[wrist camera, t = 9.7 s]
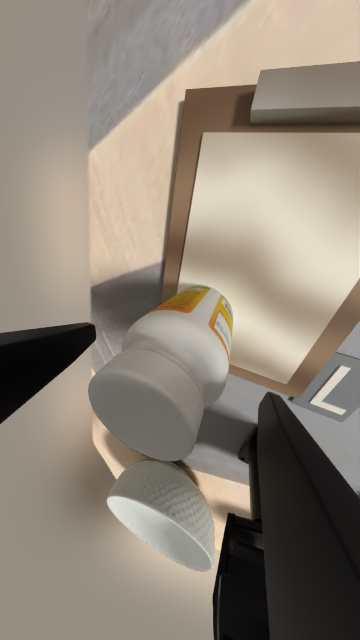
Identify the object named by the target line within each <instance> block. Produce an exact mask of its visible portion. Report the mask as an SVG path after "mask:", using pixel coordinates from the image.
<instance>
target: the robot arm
mask: <svg viewBox="0 0 360 640" xmlns="http://www.w3.org/2000/svg"><path fill="white" fill-rule="evenodd" d="M95 340H96V330H95V326H94V325H93V324H91V323H88V322H86V323H77V324H69V325H62V326H53V327H46V328H37V329H29V330H21V331H13V332H5V333H0V424H1V423H2V422H3V421H4V420H6V419H7V418H8V417H9V416H10V415H12V414H13V413H14V412H15V411H16V410H18V409H19V408H20V407H21V406H22V405H23V404H25V403H26V402H27V401H28V400H29V399H30V398H32V397H33V396H34V395H35V394H36V393H38V392H39V391H40V390H41V389H42V388H44V387H45V386H46V385H47V384H48V383H49V382H51V381H52V380H53V379H54V378H55V377H57V376H58V375H59V374H60V373H61V372H63V371H64V370H65V369H66V368H67V367H68V366H69V365H71V364H72V363H73V362H74V361H75V360H76V359H77V358H78V357H79V356H80V355H81V354H82V353H83V352H84V351H85V350H86V349H87V348H88V347H89V346H90V345H91V344H92V343H93V342H94V341H95ZM238 459H239V460H241V461H243V462H245V463H247V464H249V484H250V510H251V520H250V519H246V518H243V517H239V516H236V515H235V514H233V513H228V517H227V522H226V526H225V531H224V537H223V542H222V548H221V553H220V559H219V564H218V570H217V575H216V581H215V587H214V592H213V631H214V640H360V498H359V497H358V495H357V494H356V493H355V492H354V490H353V489H352V488H351V486H350V485H349V484H348V483H347V481H346V480H345V479H344V478H343V476H342V475H341V474H340V472H339V471H338V470H337V469H336V467H335V466H334V465H333V463H332V462H331V461H330V460H329V458H328V457H327V456H326V454H325V453H324V452H323V451H322V449H321V448H320V447H319V445H318V444H317V443H316V442H315V440H314V439H313V438H312V436H311V435H310V434H309V433H308V431H307V430H306V429H305V427H304V426H303V425H302V424H301V422H300V421H299V420H298V418H297V417H296V416H295V415H294V413H293V412H292V411H291V409H290V408H289V407H288V406H287V404H286V403H285V402H284V400H283V399H282V398H281V397H280V396H279V395H277V394H275V393H272V392H267V393H266V394H265V396H264V398H263V399H262V401H261V402H260V404H259V408H258V427H256V428H255V429H254V431H253V432H252V434H251V435H250V437H249V438H248V439H247V441H246V442H245V444H244V445H243V447H242V448H241V450H240V451H239V453H238Z"/></svg>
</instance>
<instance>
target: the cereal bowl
mask: <svg viewBox="0 0 360 640" xmlns="http://www.w3.org/2000/svg"><path fill="white" fill-rule="evenodd" d="M107 504H108V506H109V508H110V510H111V511H112V512H113V514H114V515H115V516H116V517H117V518H118V519H119V520H120V521H121V523H122V524H124V525H125V526H126V527H127V528H128V529H129V530H130V531H131V532H133V533H134V534H135V535H136V536H137V537H138V538H140V539H141V540H142V541H144V542H145V543H146V544H148V545H149V546H150V547H152V548H153V549H155V550H156V551H158V552H159V553H161V554H162V555H164V556H166V557H167V558H169V559H171V560H173V561H174V562H176V563H178V564H180V565H183V566H185V567H187V568H190V569H192V570H195V571H200V572H208V571H210V570H212V568H213V564H214V550H215V528H214V521H213V516H212V513H211V509H210V507H209V504H208V502H207V500H206V498H205V496H204V495H203V493H202V492H201V491H200V489H199V488H198V487H197V485H195V484H194V482H193V481H192V479H191V478H190V476H189V475H188V474H187V473H186V472H185V471H184V470H183V469H182V468H181V467H179V466H178V465H176V464H174V463H172V462H170V461H163V460H158V459H156V460H154V461H151V460H146V461H145V460H143V461H139V462H136V463H134V464H132V465H130V466H129V467H128V468H126V469H125V470H124V471H123V472H122V473H121V475H120V476H119V478H118V479H117V480H116V482H115V484H114V486H113V487H112V489H111V491H110V493H109V496H108V498H107Z"/></svg>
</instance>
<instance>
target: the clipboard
mask: <svg viewBox="0 0 360 640" xmlns="http://www.w3.org/2000/svg"><path fill="white" fill-rule="evenodd" d="M193 286H207V287H211V288H213V289H216V290H217V291H219V292H220V293H222V294H223V295H224V296H225V297H226V299H227V300H228V301H229V303H230V305H231V307H232V311H233V330H232V341H231V350H230V360H229V370H228V373H230V374H233V375H236V376H238V377H241V378H244V379H246V380H249V381H251V382H254V383H257V384H259V385H262V386H265V387H267V388H270V389H273V390H275V391H278V392H281V393H283V394H286V395H289V396H291V397H294V398H296V399H298V398H299V397H300V396H301V395H302V393H303V392H304V391H305V390H306V388H307V387H308V386H309V384H310V383H311V382H312V381H313V379H314V378H315V377H316V376H317V374H318V373H319V372H320V370H321V369H322V368H323V367H324V365H325V364H326V363H327V362H328V360H329V359H330V358H331V356H332V355H333V354H334V353H335V351H336V350H337V349H338V348H339V346H340V345H341V344H342V342H343V341H344V340H345V339H346V337H347V336H348V335H349V334H350V332H351V331H352V330H353V328H354V327H355V326H356V325H357V323H358V322H359V321H360V61H358V62H347V63H336V64H325V65H314V66H302V67H291V68H280V69H269V70H261V71H260V75H259V79H258V83H257V85H243V86H229V87H214V88H200V89H186V94H185V102H184V110H183V119H182V127H181V136H180V144H179V153H178V161H177V170H176V178H175V187H174V195H173V204H172V212H171V220H170V229H169V237H168V246H167V254H166V263H165V271H164V280H163V288H162V297H161V304H163V303H164V302H166V301H167V300H169V299H170V298H172V297H174V296H175V295H177V294H178V293H180V292H181V291H183V290H185V289H187V288H189V287H193Z"/></svg>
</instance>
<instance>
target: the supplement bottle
mask: <svg viewBox="0 0 360 640" xmlns="http://www.w3.org/2000/svg"><path fill="white" fill-rule="evenodd" d="M232 330H233V311H232V307H231V305H230V303H229V301H228V300H227V299H226V297H225V296H224V295H223V294H222V293H220V292H219V291H217V290H216V289H213V288H211V287H207V286H193V287H189V288H187V289H185V290H183V291H181V292H180V293H178V294H177V295H175V296H174V297H172V298H170V299H169V300H167V301H166V302H164V303H163V304H161V305H160V306H158V307H156V308H155V309H153V310H152V311H150V312H149V313H147V314H146V315H144V316H143V317H141V318H140V319H139V320H137V321H136V322H135V323H134V324H133V325H132V326H131V327H130V328H129V330H128V331H127V333H126V335H125V337H124V340H123V344H122V352H121V353H119V354H118V355H117V356H115V357H114V358H113V359H112V360H111V361H110V362H109V363H108V364H106V365H105V366H104V367H103V368H102V369H101V370H100V371H98V372H97V373H96V374H95V375H94V377H93V378H92V380H91V381H90V384H89V389H88V392H89V399H90V402H91V405H92V407H93V409H94V411H95V413H96V415H97V416H98V418H99V419H100V420H101V422H102V423H103V424H104V425H105V426H106V427H107V429H108V430H109V431H110V432H111V433H112V434H114V435H115V436H116V437H117V438H118V439H119V440H121V441H122V442H123V443H125V444H126V445H128V446H129V447H131V448H132V449H134V450H136V451H138V452H140V453H142V454H144V455H146V456H149V457H151V458H154V459H158V460H163V461H178V460H181V459H184V458H185V457H187V456H188V455H189V454H190V453H191V451H192V450H193V448H194V445H195V443H196V439H197V435H198V431H199V428H200V424H201V420H202V418H203V413H204V408H206V407H208V406H210V405H211V404H213V403H214V402H215V401H216V400H217V399H218V398H219V397H220V395H221V394H222V392H223V390H224V388H225V384H226V381H227V376H228V370H229V360H230V350H231V341H232Z"/></svg>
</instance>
